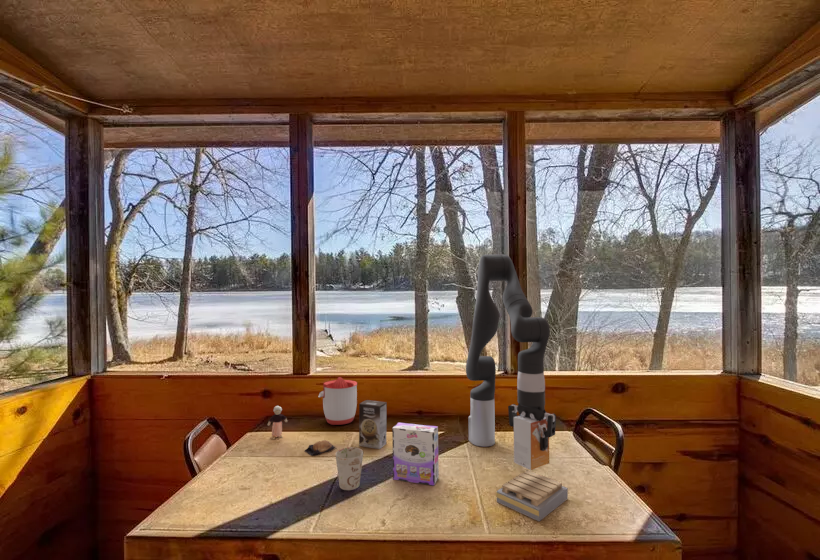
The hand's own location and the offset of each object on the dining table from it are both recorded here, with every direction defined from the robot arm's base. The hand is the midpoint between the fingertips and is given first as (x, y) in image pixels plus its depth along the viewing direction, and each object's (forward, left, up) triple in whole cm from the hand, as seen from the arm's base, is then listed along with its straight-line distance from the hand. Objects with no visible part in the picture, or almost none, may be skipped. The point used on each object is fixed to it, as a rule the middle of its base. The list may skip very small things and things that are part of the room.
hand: (531, 446), depth 113 cm
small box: (0, 0, -5) cm, 5 cm away
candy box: (-32, -15, -15) cm, 38 cm away
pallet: (0, 0, -12) cm, 12 cm away
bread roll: (-73, -25, -16) cm, 79 cm away
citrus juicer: (-95, -3, -15) cm, 96 cm away
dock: (0, 0, -15) cm, 15 cm away
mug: (-45, -32, -15) cm, 57 cm away
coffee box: (-63, -8, -15) cm, 65 cm away
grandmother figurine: (-96, -31, -15) cm, 102 cm away
